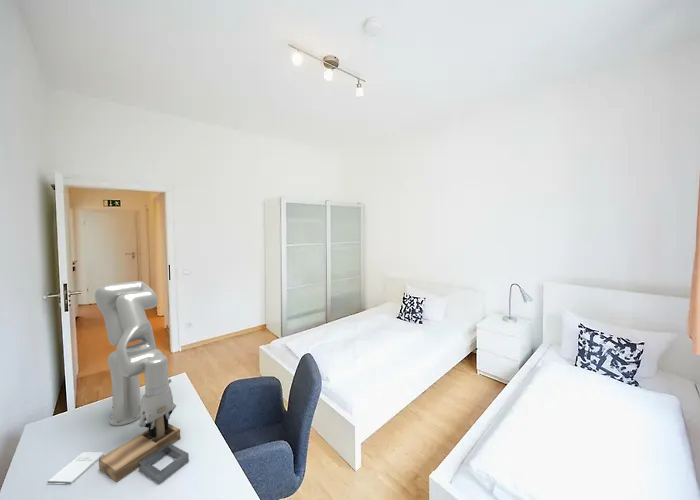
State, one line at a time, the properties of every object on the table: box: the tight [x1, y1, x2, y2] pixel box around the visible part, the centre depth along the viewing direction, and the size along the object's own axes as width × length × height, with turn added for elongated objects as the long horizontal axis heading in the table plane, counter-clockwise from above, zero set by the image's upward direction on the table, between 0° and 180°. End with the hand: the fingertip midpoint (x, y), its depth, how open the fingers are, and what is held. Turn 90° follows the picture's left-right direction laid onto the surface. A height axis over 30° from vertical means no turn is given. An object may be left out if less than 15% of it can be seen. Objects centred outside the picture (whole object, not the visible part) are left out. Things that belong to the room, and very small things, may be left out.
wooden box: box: [98, 423, 181, 483], centre depth 107 cm, size 11×22×4 cm, turn 155°
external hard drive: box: [46, 451, 105, 485], centre depth 100 cm, size 2×8×12 cm
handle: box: [153, 406, 166, 443], centre depth 112 cm, size 5×6×15 cm
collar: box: [138, 443, 190, 485], centre depth 102 cm, size 12×10×3 cm
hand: (158, 432), depth 113 cm, fingers closed on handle, 3 cm apart
